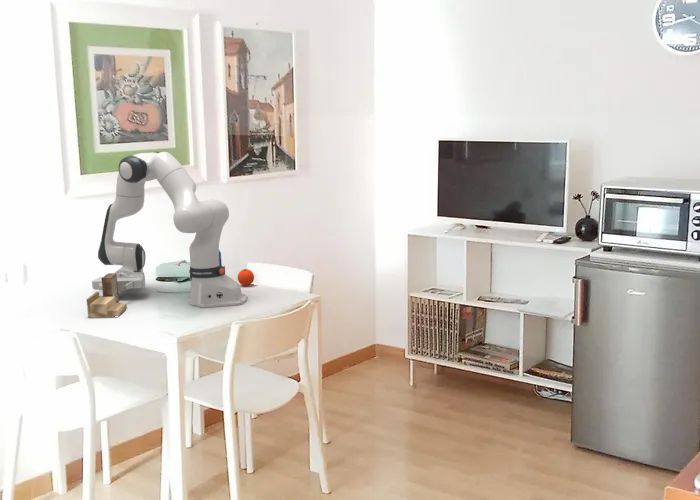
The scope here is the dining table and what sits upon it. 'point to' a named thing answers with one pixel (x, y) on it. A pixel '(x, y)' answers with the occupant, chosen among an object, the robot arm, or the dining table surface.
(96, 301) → the oak notch rail
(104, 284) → the brown wooden block
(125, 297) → the dining table surface
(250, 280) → the clementine
